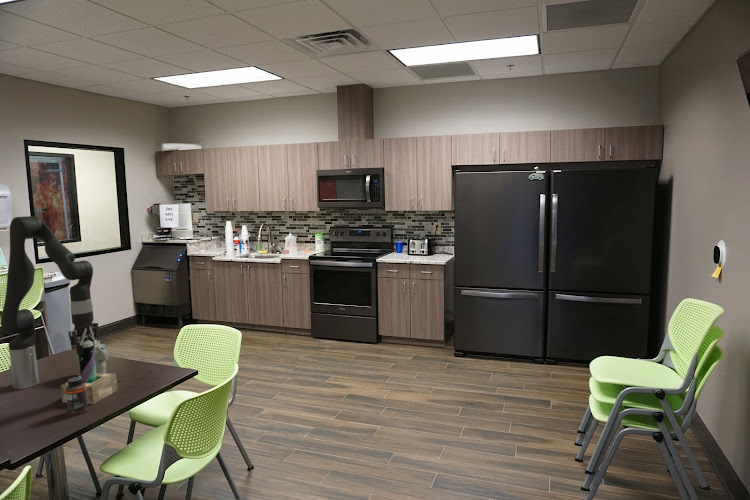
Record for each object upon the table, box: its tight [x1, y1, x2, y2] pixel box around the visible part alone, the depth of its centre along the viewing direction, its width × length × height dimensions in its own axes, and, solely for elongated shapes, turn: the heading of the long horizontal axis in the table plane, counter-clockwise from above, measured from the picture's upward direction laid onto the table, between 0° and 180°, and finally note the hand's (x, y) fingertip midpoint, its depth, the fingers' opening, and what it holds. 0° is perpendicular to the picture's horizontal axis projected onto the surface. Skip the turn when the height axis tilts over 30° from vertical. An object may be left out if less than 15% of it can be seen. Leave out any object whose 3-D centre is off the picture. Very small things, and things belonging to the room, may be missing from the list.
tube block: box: [60, 373, 118, 405], centre depth 207 cm, size 14×14×7 cm
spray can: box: [79, 337, 97, 383], centre depth 205 cm, size 6×6×20 cm
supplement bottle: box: [66, 376, 89, 416], centre depth 191 cm, size 7×7×13 cm
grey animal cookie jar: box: [74, 336, 110, 377], centre depth 229 cm, size 16×15×19 cm
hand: (86, 351), depth 205 cm, fingers closed on spray can, 5 cm apart
